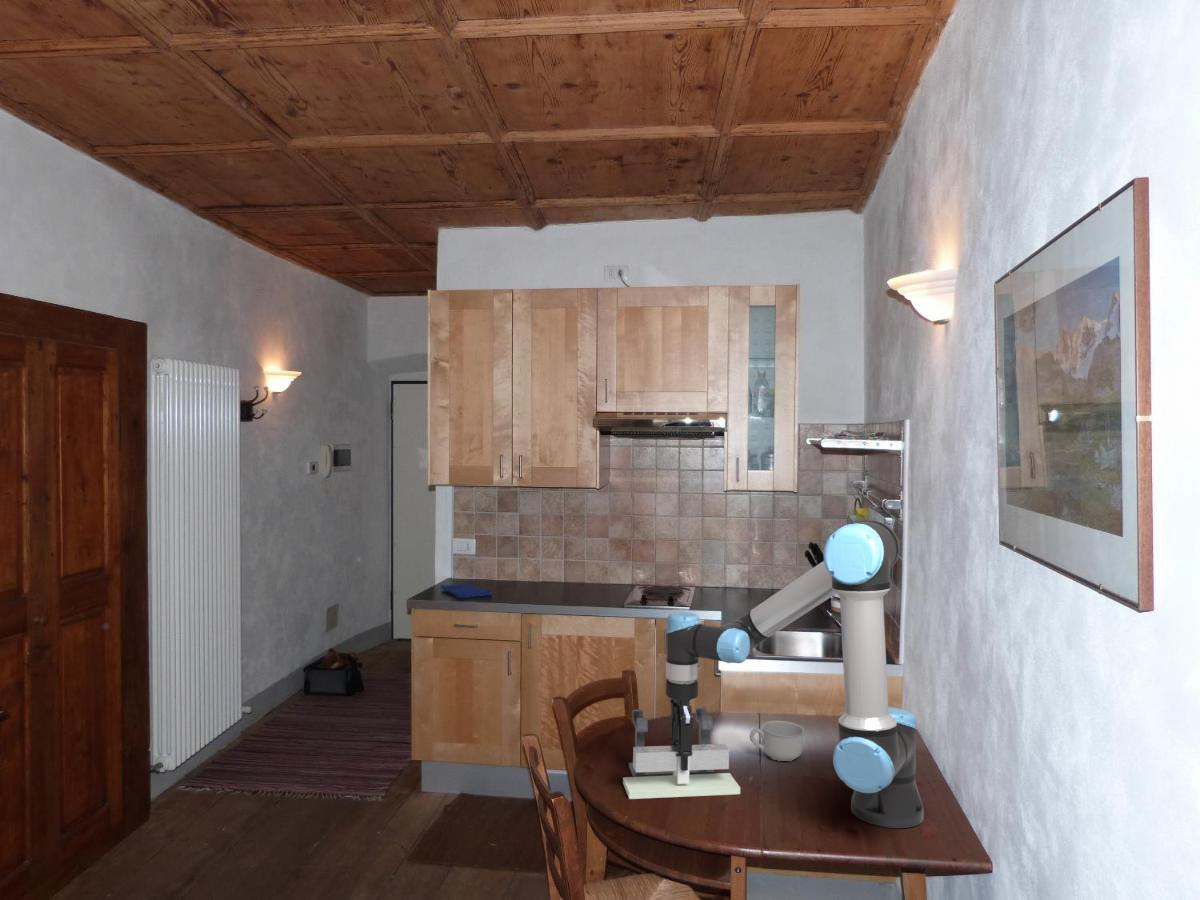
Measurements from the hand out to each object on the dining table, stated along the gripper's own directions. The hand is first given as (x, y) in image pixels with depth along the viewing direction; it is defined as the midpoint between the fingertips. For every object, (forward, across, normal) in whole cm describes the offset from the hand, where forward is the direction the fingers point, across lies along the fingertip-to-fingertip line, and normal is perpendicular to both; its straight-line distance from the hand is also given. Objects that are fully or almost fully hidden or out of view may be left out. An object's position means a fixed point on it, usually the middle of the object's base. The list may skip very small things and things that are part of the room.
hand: (680, 778), depth 207 cm
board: (+2, 0, 0) cm, 2 cm away
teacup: (+3, +18, -29) cm, 34 cm away
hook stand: (+2, +10, 0) cm, 11 cm away
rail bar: (-3, 0, 0) cm, 3 cm away
